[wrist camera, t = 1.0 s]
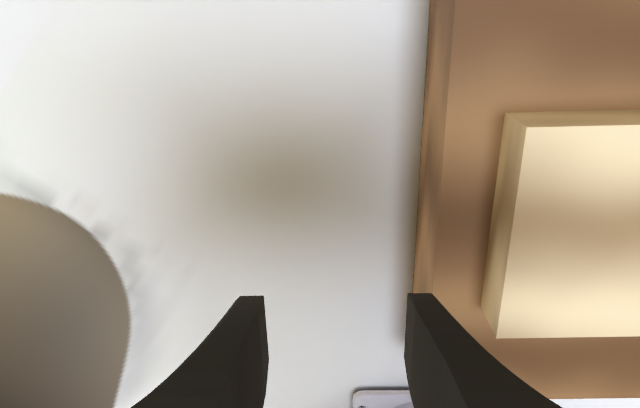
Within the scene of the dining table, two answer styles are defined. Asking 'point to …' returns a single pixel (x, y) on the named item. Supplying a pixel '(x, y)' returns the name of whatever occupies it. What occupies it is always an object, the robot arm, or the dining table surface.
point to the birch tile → (565, 226)
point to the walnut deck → (484, 149)
